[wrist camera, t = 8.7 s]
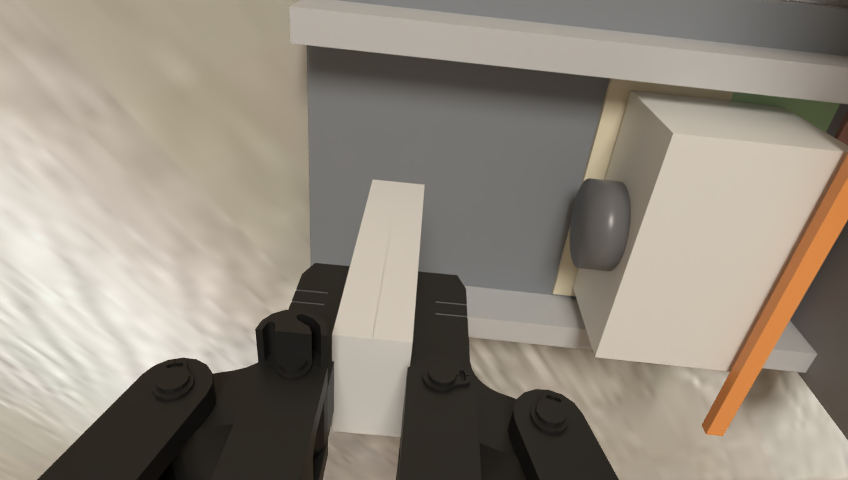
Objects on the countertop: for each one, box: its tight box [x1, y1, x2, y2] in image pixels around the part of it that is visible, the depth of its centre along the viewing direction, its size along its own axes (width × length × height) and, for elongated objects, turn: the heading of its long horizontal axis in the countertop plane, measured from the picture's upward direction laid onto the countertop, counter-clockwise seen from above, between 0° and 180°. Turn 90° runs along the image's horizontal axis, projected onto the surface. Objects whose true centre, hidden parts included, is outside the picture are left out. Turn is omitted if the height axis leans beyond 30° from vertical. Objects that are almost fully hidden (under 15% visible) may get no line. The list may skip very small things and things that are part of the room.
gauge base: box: [289, 0, 848, 440], centre depth 18 cm, size 22×14×6 cm, turn 85°
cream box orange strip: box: [570, 90, 848, 436], centre depth 18 cm, size 6×13×5 cm, turn 175°
